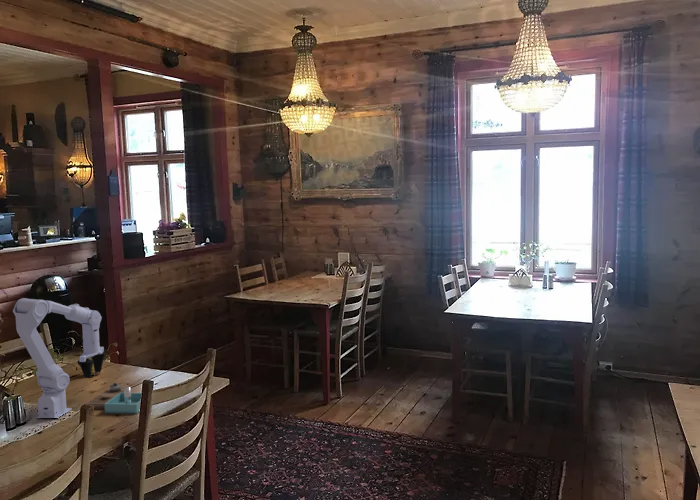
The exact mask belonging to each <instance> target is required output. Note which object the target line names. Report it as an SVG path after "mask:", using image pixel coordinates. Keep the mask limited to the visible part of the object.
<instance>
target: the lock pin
mask: <svg viewBox="0 0 700 500" xmlns="http://www.w3.org/2000/svg"><path fill="white" fill-rule="evenodd" d="M123 388H124V400H125V404H132V401H131V393H132V387H131V386H125V387H123Z"/></svg>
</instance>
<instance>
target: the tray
mask: <svg viewBox="0 0 700 500" xmlns="http://www.w3.org/2000/svg"><path fill="white" fill-rule="evenodd" d="M141 393H142V392H131V401H132V404H125V400H124V393H119V394H117V395H116V396H115V397H113V398H112V399H111V400H109V401H108V402H107V403H105V404H104V405H105V409H104V414H114V415H115V414H120V415H121V414H123V415H125V414H126V415H128V414H129V415H138V414H139V413H140V412H139V409H140V402H141V400H140V399H141Z"/></svg>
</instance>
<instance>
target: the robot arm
mask: <svg viewBox="0 0 700 500" xmlns="http://www.w3.org/2000/svg"><path fill="white" fill-rule="evenodd" d="M12 313H13V314H14V316H15V327H16V328H15V329H16V332H17V335H19V337H20V340H21V341H22V343H23V345H24V347H25V349H26V350H27V352H28V354H29V355H30V357H31V359H32V361H33V363H34V364H35V366H36V368H37V371H36V372H35V375H36V377H37V384H38V386H39V387H41V391H42V393H41V396H40V397H39V398H38V400H37V413H38V416H36V418H58V419H60V418H61V417H63V416H64V415H65V413H66V414H67V413H68V412H71V410H73V408H71V407H67V395H66V389H67V387H68V386H69V384H70V376H69V374H68V373H66V372H65V371H64V369H63V368H62V367H60V365H58V364H56V362H54V359H53V358H52V355H51V353H50V352H49V350H48V348H47V347H46V344H45V342H44V341H43V338H42V337H41V335H40V332H38V330H37V328H38V327H39V325H40V324H41V323H42V321H43V320H44V319H45V317H46V316H47V314H50V313H54V314H60V315H62V316H63V315H64V317H65V319H66V320H69V321H72V322H76V323H79V324H81V326H82V347H83V352H82V354H81V355H80V356H79V358H78V360H77V364H78V365H79V367H80V369H81V371H82V374H83V376H84V379H91V378H92V376H91V374H92V365H93V364H94V370H95V372H100V373H101V372H102V367H103V363H104V360H105V358H106V356H107V352H105V351H104V350H105V349H104V348H105V347H104V346H100V330H99V329H100V328H101V327H100V326H101V325H100V324H101V321H102V318H103V317H102V316H101V313H100V312H99V311H98V310H94V309H93V310H92V309H90V308H89V307H86V306H84V307H82V306H80V304H78V303H74V304H70V305H68V306H67V305H65V304H64V305H63V304H62V303H59V302H55V301H52V300H46V299H45V300H44V299H35V298H28V297H26V298H25V297H22V298H20V299H18V300H17V301H16V302H15V304H14V307H13V310H12ZM89 358H92V360H93V361H90V360H89ZM63 414H64V415H63ZM62 415H63V416H62ZM58 416H59V417H60V416H61V417H60V418H59V417H58ZM36 418H35V419H36Z"/></svg>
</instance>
